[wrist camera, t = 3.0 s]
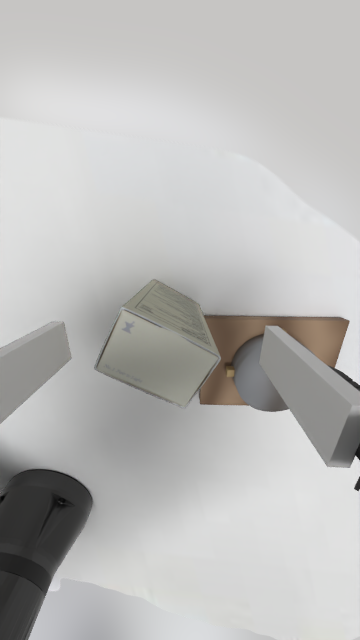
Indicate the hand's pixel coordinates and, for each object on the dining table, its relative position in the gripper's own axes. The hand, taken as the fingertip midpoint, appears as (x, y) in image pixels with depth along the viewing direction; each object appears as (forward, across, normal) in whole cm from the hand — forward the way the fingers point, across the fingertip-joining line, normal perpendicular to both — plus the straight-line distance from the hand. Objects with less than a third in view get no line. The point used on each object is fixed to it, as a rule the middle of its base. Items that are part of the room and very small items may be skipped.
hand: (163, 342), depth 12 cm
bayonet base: (+10, +12, -7) cm, 17 cm away
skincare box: (+10, 0, 0) cm, 10 cm away
